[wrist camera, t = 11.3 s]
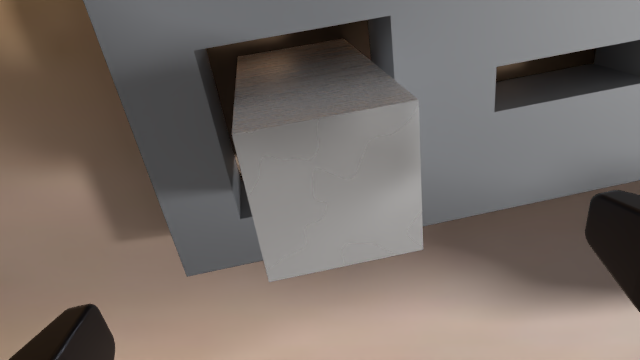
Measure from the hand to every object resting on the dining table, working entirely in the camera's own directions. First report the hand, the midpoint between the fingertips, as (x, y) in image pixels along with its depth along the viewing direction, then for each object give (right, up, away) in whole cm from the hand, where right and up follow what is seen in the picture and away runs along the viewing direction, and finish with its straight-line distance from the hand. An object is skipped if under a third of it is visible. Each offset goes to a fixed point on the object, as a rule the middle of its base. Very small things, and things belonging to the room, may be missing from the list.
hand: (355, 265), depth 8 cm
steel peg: (-1, +5, +9) cm, 11 cm away
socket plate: (+3, +6, +10) cm, 12 cm away
